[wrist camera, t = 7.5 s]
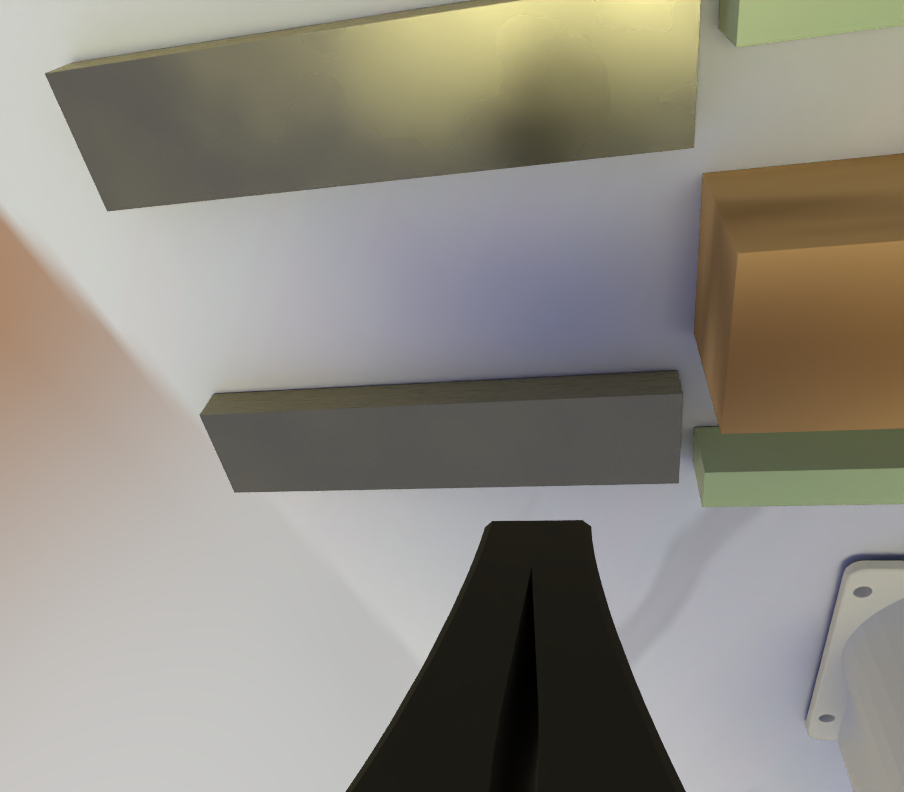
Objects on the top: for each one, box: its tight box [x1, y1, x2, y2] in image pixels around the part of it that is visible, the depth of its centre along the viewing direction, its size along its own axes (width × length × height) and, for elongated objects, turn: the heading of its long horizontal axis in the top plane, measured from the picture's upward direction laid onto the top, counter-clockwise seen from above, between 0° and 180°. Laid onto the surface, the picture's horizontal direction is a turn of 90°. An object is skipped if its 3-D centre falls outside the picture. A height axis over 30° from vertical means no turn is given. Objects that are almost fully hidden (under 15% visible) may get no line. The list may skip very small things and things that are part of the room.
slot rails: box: [45, 0, 701, 492], centre depth 17 cm, size 12×13×1 cm
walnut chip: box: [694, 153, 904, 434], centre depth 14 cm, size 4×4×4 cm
